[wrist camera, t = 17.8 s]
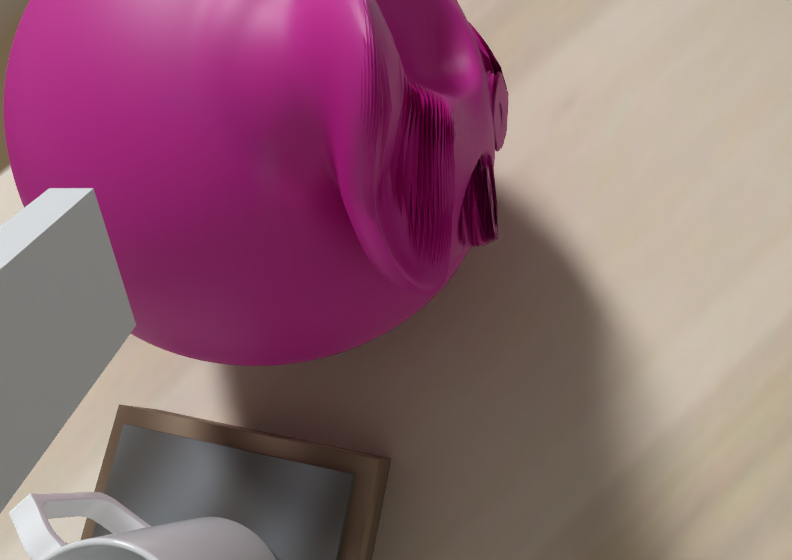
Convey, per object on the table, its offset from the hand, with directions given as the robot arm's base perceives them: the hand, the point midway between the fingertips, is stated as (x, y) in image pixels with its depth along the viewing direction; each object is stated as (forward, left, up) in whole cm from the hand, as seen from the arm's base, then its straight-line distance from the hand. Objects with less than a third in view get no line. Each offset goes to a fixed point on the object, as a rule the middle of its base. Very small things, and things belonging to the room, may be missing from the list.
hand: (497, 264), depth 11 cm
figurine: (+13, -11, -31) cm, 36 cm away
